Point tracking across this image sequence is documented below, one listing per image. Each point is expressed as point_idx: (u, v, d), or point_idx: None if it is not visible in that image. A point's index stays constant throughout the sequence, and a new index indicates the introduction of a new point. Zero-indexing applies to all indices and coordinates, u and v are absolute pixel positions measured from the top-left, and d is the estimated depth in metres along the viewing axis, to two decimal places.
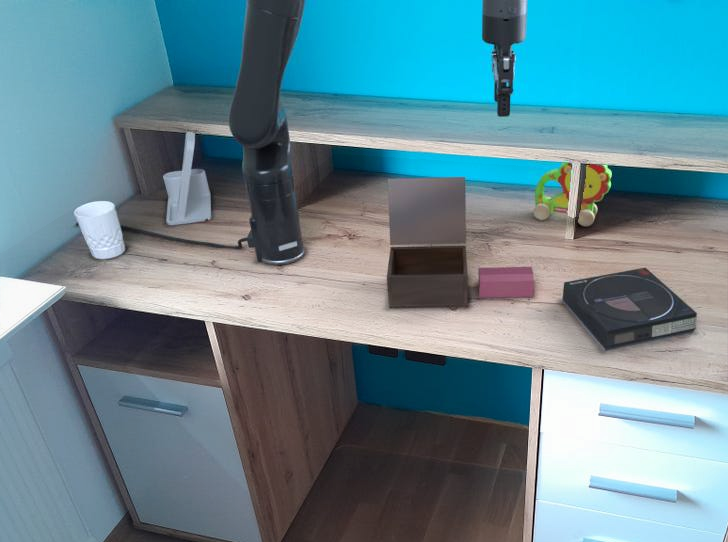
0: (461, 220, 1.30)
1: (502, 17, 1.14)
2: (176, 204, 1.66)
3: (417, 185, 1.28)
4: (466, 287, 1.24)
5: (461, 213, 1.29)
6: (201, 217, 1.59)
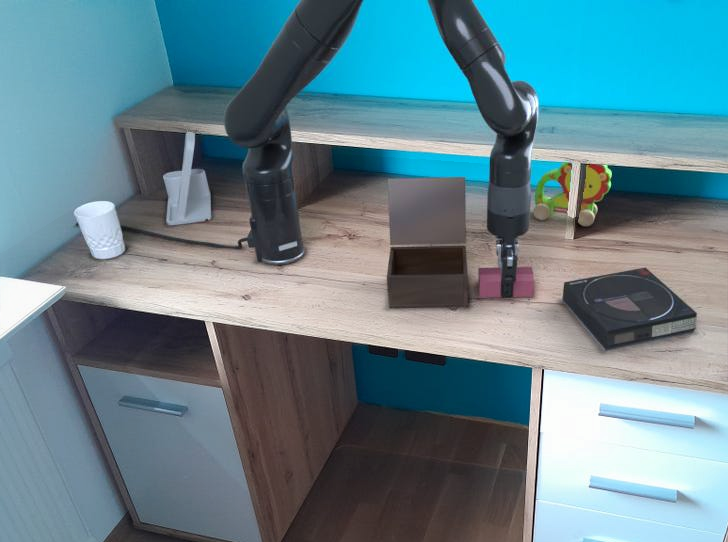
0: (461, 220, 1.30)
1: (506, 215, 1.18)
2: (176, 204, 1.66)
3: (417, 185, 1.28)
4: (466, 287, 1.24)
5: (461, 213, 1.29)
6: (201, 217, 1.59)
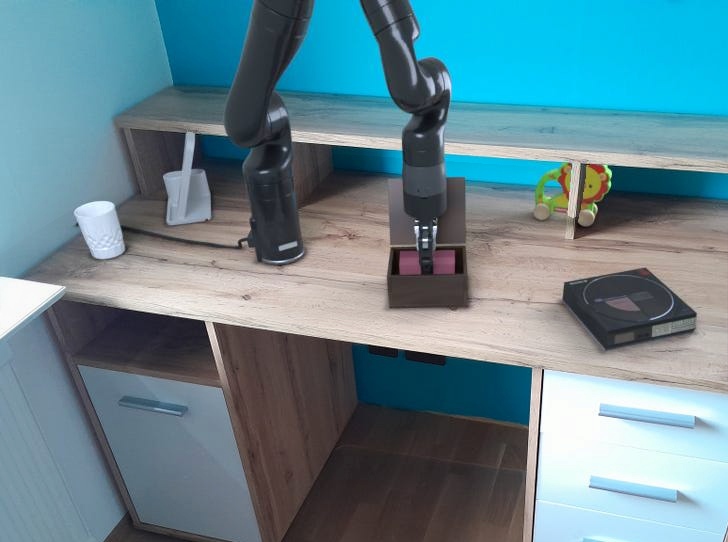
0: (461, 220, 1.30)
1: (420, 196, 1.15)
2: (176, 204, 1.66)
3: None
4: (466, 287, 1.24)
5: (461, 213, 1.29)
6: (201, 217, 1.59)
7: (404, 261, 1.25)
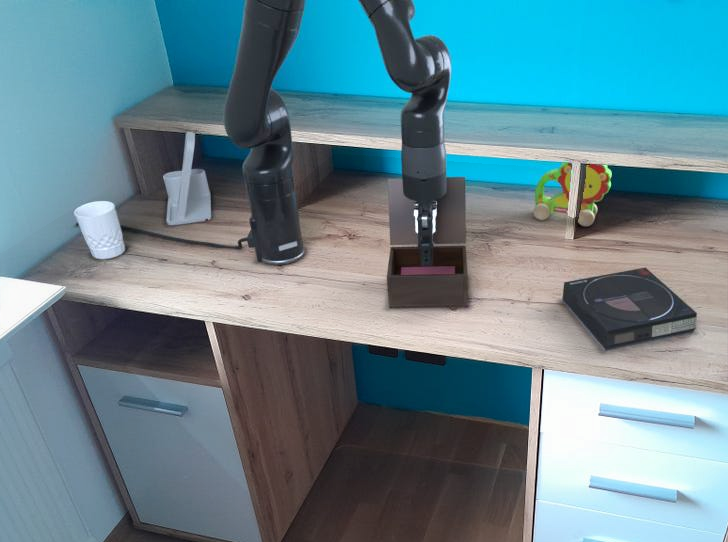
0: (461, 220, 1.30)
1: (419, 178, 1.13)
2: (176, 204, 1.66)
3: None
4: (466, 287, 1.24)
5: (461, 213, 1.29)
6: (201, 217, 1.59)
7: None
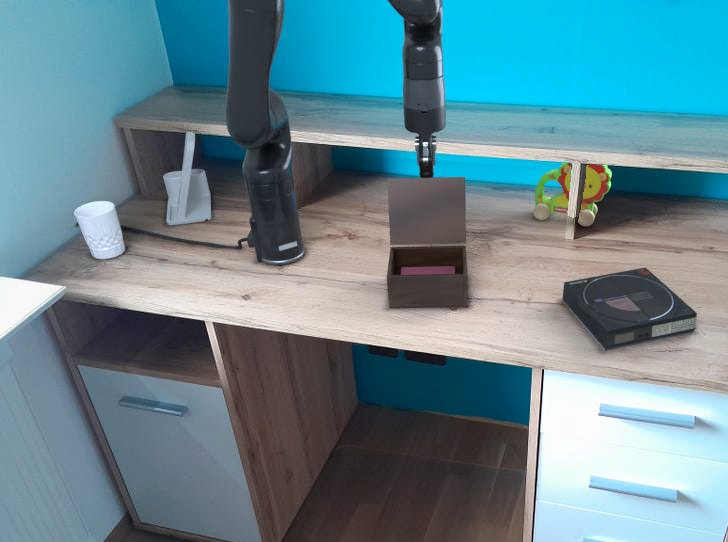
0: (461, 220, 1.30)
1: (420, 110, 1.20)
2: (176, 204, 1.66)
3: (417, 186, 1.28)
4: (466, 287, 1.24)
5: (461, 213, 1.29)
6: (201, 217, 1.59)
7: None
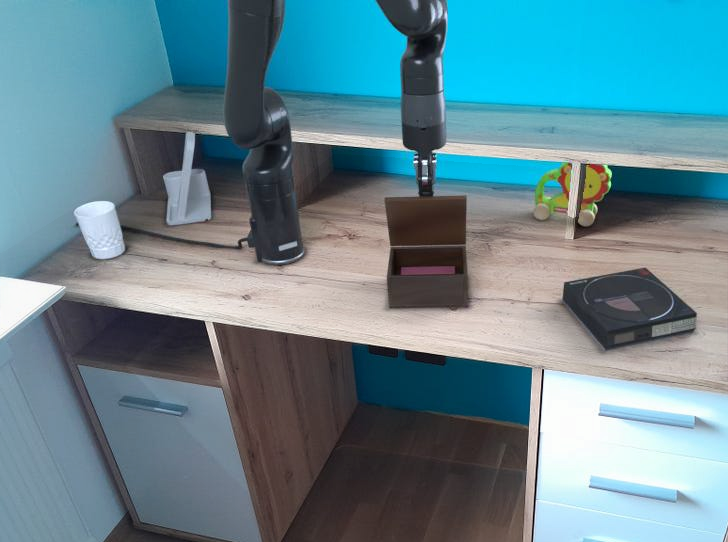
0: (461, 229, 1.27)
1: (419, 126, 1.13)
2: (176, 204, 1.66)
3: (416, 205, 1.22)
4: (466, 287, 1.24)
5: (462, 224, 1.26)
6: (201, 217, 1.59)
7: None
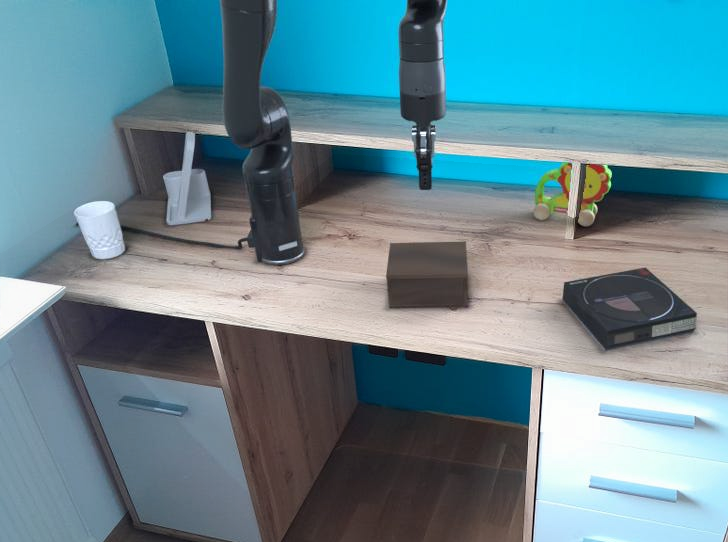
0: None
1: (418, 95, 1.09)
2: (176, 204, 1.66)
3: None
4: (466, 287, 1.24)
5: None
6: (201, 217, 1.59)
7: None
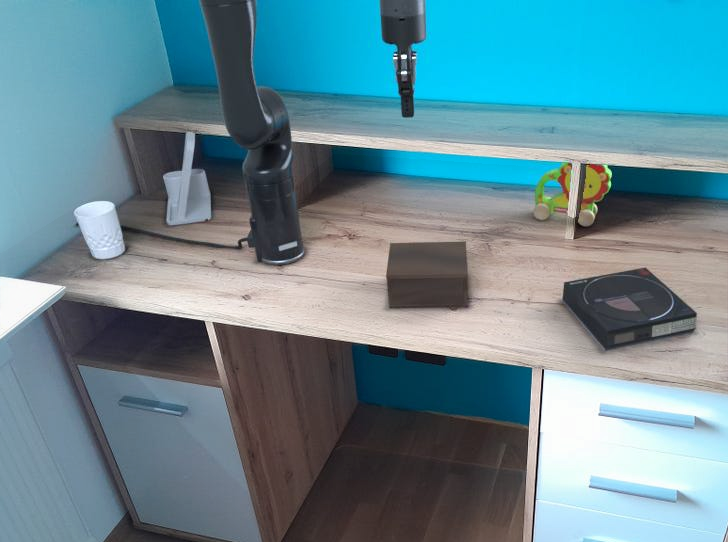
0: None
1: (398, 17, 1.11)
2: (176, 204, 1.66)
3: None
4: (466, 287, 1.24)
5: None
6: (201, 217, 1.59)
7: None
